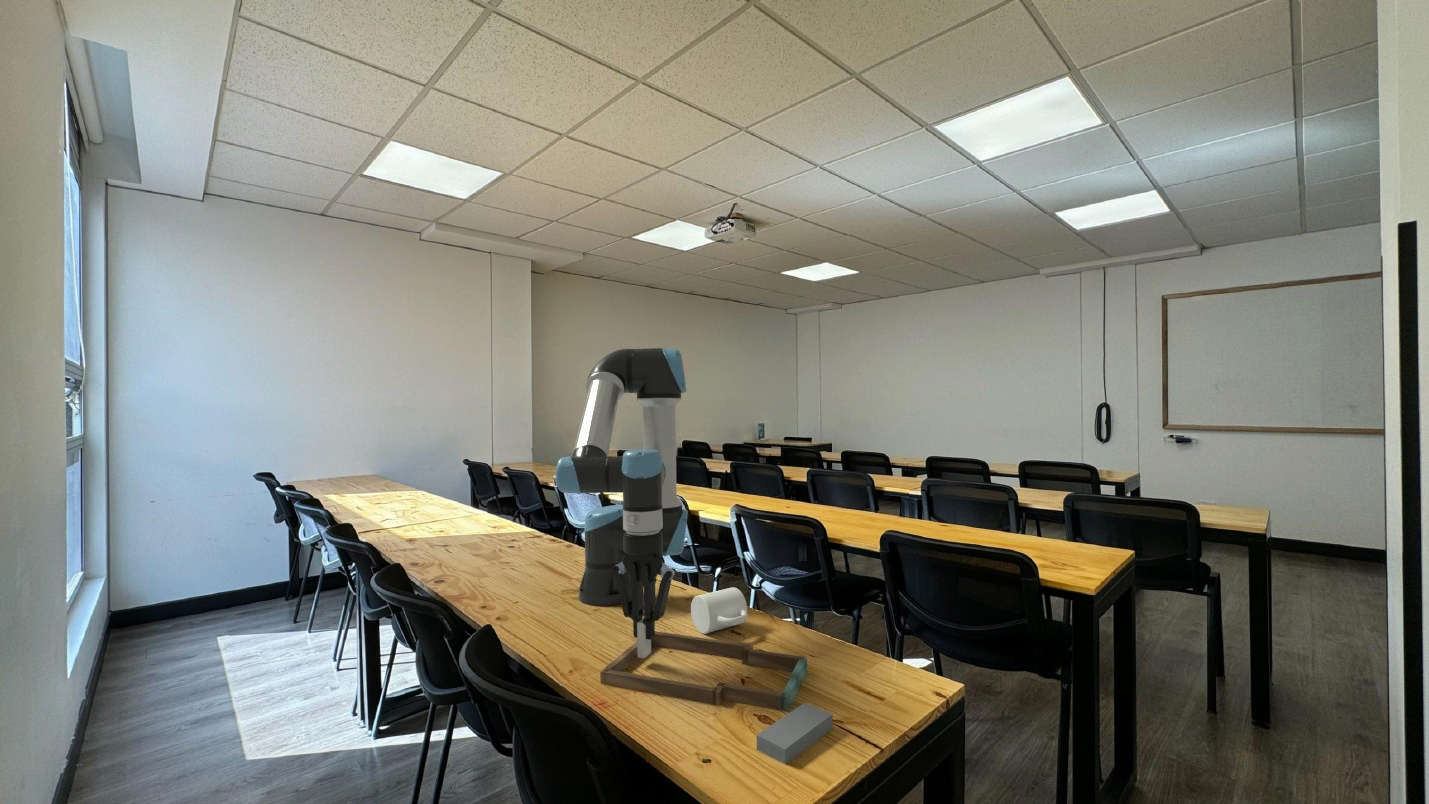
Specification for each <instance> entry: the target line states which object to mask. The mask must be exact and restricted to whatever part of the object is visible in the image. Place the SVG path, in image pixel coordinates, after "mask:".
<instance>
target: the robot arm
mask: <svg viewBox="0 0 1429 804" xmlns="http://www.w3.org/2000/svg"><path fill="white" fill-rule="evenodd" d="M684 369H685V368H684V363H683V357H682V353H681V351H680V350H678V349H676V348H665V347H661V348H660V347H659V348H657V347H656V348H621V349H617V350H614V351H612V352H609V354H607V355H605V356H604V357H602V359H600V360H599V361H598V362H596V364H595V365H594V366H593V367H592V369H591V370H590V372H589V374H588V376H587V379H586V383H585V390H586V393H587V397H586V400H585V404H584V406H583V407H584V408H583V411H582V415H581V419H580V423H579V427H578V431H577V435H576V438H575V441H574V444H573V445H574V447H573V449H572V454H571V455H569V456H563V457H560V459H558V460H557V464H556V469H555V481H556V482H555V483H556V486H557V488H558V490H559V491H560V492H561V493H563V494H578V495H580V494H600V493H601V494H602V493H615V494H616V493H617V494H618V493H622V503H623V504H614V505H613V504H612V505H607V506H602V507H598V508H595V509H593V510H591V511H588V513H587V514H586V515H585V518H584V519H585V520H584V529H583V531H584V558H585V559H584V560H585V561H584V562H585V563H584V566H585V567H584V572H583V575H582V578H581V582H580V585H579V587H578V600H579V602H580V603H582V604H584V605H587V604H588V606H593V607H608V606H618V605H621V608H622V613H623V616H624V617H625V618H630V619H632V621H633V622H632V623H633V626H632V627H633V628H632V629H633V632H632V634H633V637H634V638H636V639H637V641H636V642H637V652H638V658H639V659H646V658H647V657H648V656H649V655H650V654H651V653H652V646H651V639H652V638H653V637H654V635H655V631H656V629H655V628H656V623H655V622H657V621H659V620H661V618H663V617H664V615H665V612H666V607H667V602H668V597H669V593H670V589H671V584H672V580H673V579H674V577H675V576H676V574H677V569H675V567H673V568H670V567H669V566H668V565H666V561H665V558H664V557H668V556H679V555H680V554H682V553H683V551H684V548H685V540H686V532H687V530H686V529H687V522H688V515H689V514H688V513H689V512H688V510H687V509H685V508H684V509H683V502H682V501H681V500H680V498H678V497H677V439H676V438H677V434H676V432H677V428H676V427H677V426H676V424H677V423H676V419H677V416H676V408H677V405H678V403H679V402H680V401H682V394H685V393H687V383H686V376H685V370H684ZM628 393H629V394H636V401H638V402H639V404H640V405H641V406H642V445H643V447H642V449H641V448H640V449H630V450H629V449H628V450H626V451H624V452H623V455H621V456H620V455H617V456H614V455H613V456H611V455H610V456H609V454H610V453H609V452H610V448H611V447H610V446H611V442H612V437H613V432H614V424H615V419H616V415H617V409H618V402H619V400H620V399H621V398H622V397H623V396H624V394H628ZM660 572H661V573H660ZM659 574H660V578H661V580H660V583H659V586H658V591H657V594H656V583H657V577H658V575H659ZM656 595H657V596H656Z"/></svg>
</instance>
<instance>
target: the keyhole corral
mask: <svg viewBox="0 0 1429 804" xmlns="http://www.w3.org/2000/svg"><path fill="white" fill-rule="evenodd" d="M652 646H655V647H660V648H667V649H673V650H680V651H685V652H686V651H688V652H692V653H700V654H707V655H714V656H719V657H726V658H733V659H738V660H739V659H740V660H741V663H742V665H747V666H752V667H753V666H754V667H762V668H766V669H767V668H768V669H774V670H779V671H780V670H781V671H785V672H786V671H787V672H792V673H791V675H790V677H789V679H788V681H787V683H786V684H785V688H784V689H783V691H781V692H780V691H775V690H769V689H761V688H757V687H752V686H751V687H750V686H745V685H739V684H734V683H733V684H732V683H726V682H720V681H719V682H718V683H717V684H716V685H715V687H713V686H707V685H703V684H697V683H690V682H684V681H679V680H678V681H677V680H673V679H672V680H671V679H666V678H661V677H654V676H648V675H644V674H643V675H642V674H638V673H632V672H631V673H630V672H626V671H624V670H625V669H626V668H627V667H629V666H630V665H631V664H632V663H634V662H635V661H636V660H637V659H638V658H639V657H638V652H637V641H635V642H634V643H633V644H631V646H629V647H628V648H627V649H626V650H624V651H623V652H622V653H621V654H620V655H619V656H618V657H616V658H615V659H614V660H612V661H611V662H610V663H608V665H606V666H605V667H604V668H603V669H602V670H600V674H599V675H600V677H599V678H600V680H599V681H600V684H602V685H608V686H613V687H619V688H625V689H629V690H634V691H639V692H647V693H652V694H657V695H662V696H665V697H666V696H667V697H672V698H677V699H683V700H688V701H694V702H697V703H698V702H700V703H705V704H710V705H715V706H721V705H722V703H723V701H728V702H734V703H739V704H744V705H749V706H754V707H755V706H756V707H760V708H761V707H762V708H767V709H771V710H772V709H773V710H777V711H782V712H783V711H784V712H789V711H790V709H791V707H792V705H793V703H794V701H795V698H796V696H797V693H798V692H799V689H800V688H801V685H802V683H803V681H804V678H805V677H806V674H807V671H808V657H806V656H801V655H795V654H794V655H793V654H788V653H787V654H786V653H779V652H772V651H766V650H758V649H754V644H749V643H741V642H734V641H726V640H722V639H720V640H719V639H713V638H705V637H698V636H694V635H693V636H691V635H685V634H678V633H670V632H662V631H657V630H655V635H654V637H653V638H652V639H651V647H652Z"/></svg>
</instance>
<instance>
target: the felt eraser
mask: <svg viewBox="0 0 1429 804" xmlns="http://www.w3.org/2000/svg"><path fill="white" fill-rule="evenodd" d="M833 716H834V715H833V713H831V712H829V711H826V710H824V709H821V708H819V707H817V706H814V705H812V704H809V703H807V702H803V703H802V704H801V705H798V706H797V707H796V708H795V709H793V710H792V711H790V712H788V713H787V714H786V715H784V716H783V717H781V718H779V719H778V720H776V721H775V722H773V723H772V724H771V725H769V726H768V727H766V728H764V729H763V730H761V731H760V732H758V733H757V734H756V751H758V752H760V753H762V754H764V755H766V756H768V757H770V758H772V759H774V760H775V761H777V762H780V763H781V764H783V765H787V764H788V763H789V762H791V761H792V760H793V759H795V758H796V757H797V756H799V755H800V754H802V753H803V752H804V751H806V750H807V749H808V748H809V747H811V746H812V745H814V744H815V743H816V742H818V741H819V740H820V739H821V738H824V736H826V735H827V734H828V733H830V732H832V731H833V730H834V729H833V728H834V727H833V724H834V722H833V721H834V719H833Z"/></svg>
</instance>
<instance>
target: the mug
mask: <svg viewBox="0 0 1429 804" xmlns="http://www.w3.org/2000/svg"><path fill="white" fill-rule="evenodd" d="M690 614H691V620H692V623H693V625H694V627H695V628H696V630H697V631H698V632H699V633H700V634H703V635H704V634H705V635H706V634H710V633H712V632H713V633H714V632H717V631H720V630H724V629H728V628H730V627H734V626H738V625H742V624H743V623H745V622H746V621H747V620H748V616H749V615H748V605H747V601H746V598H745V596H744V594H743V592H742V591H741V590H740V589H738V588H737V587H735V586H734V587H733V586H732V587H729V588H723V589H721V590H716V591H712V592H708V593H703V594H699V595H696V596H694V597H693V599H692V600H691V604H690Z"/></svg>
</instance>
